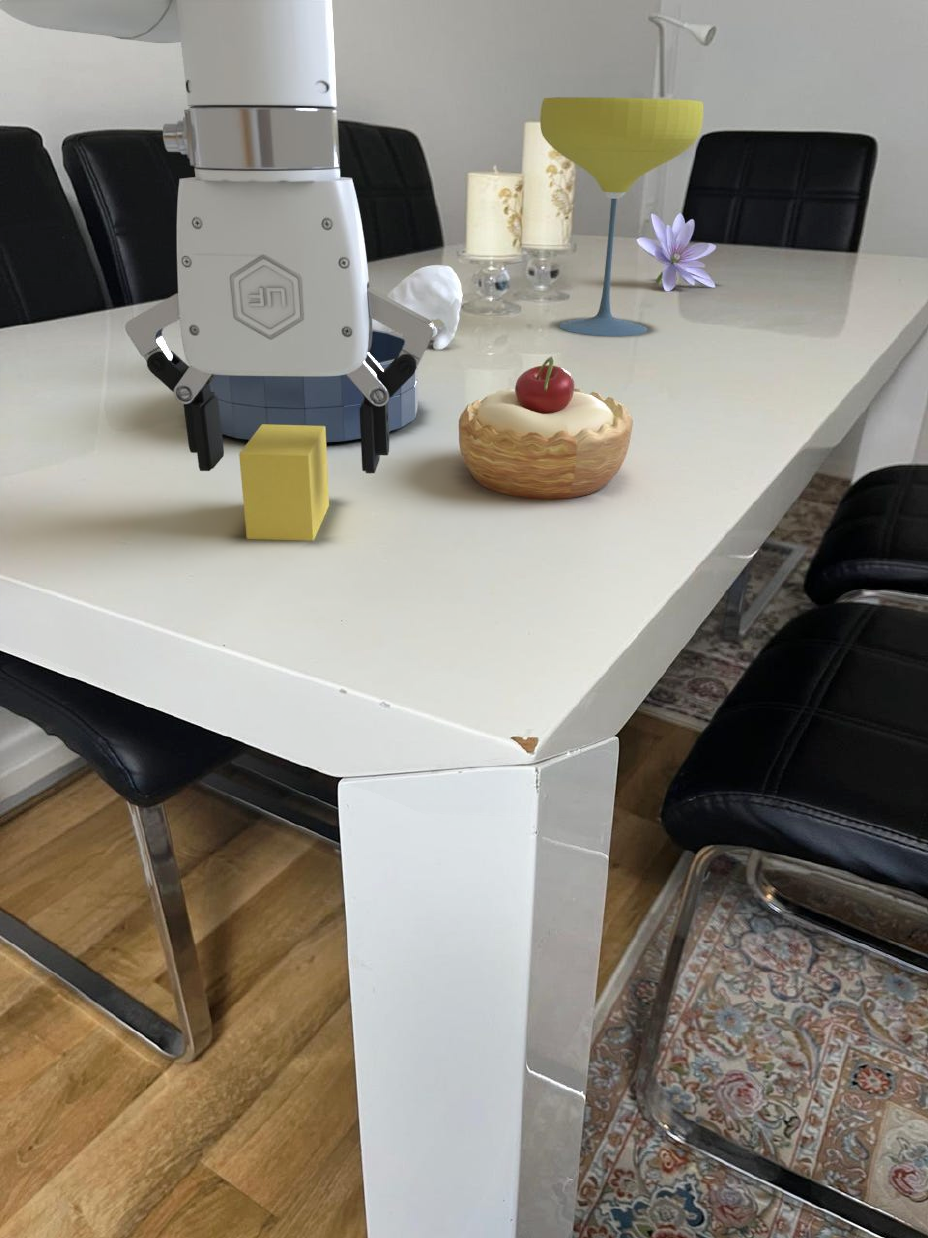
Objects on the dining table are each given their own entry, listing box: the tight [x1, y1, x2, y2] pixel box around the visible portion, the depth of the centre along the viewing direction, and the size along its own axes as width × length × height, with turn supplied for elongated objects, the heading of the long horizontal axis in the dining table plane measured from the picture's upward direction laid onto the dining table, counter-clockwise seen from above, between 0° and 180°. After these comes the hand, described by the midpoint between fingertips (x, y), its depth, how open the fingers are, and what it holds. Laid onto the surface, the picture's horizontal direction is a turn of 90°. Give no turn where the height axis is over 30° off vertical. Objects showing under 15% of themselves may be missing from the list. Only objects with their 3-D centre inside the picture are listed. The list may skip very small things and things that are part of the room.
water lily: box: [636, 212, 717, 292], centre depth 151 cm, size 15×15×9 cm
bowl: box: [209, 329, 419, 443], centre depth 80 cm, size 18×18×6 cm
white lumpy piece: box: [372, 264, 464, 351], centre depth 106 cm, size 6×8×12 cm
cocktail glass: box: [539, 96, 704, 337], centre depth 113 cm, size 18×18×25 cm
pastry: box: [458, 356, 634, 500], centre depth 66 cm, size 12×12×9 cm
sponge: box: [238, 424, 330, 542], centre depth 58 cm, size 4×6×6 cm, turn 178°
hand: (291, 465), depth 58 cm, fingers open, 9 cm apart
